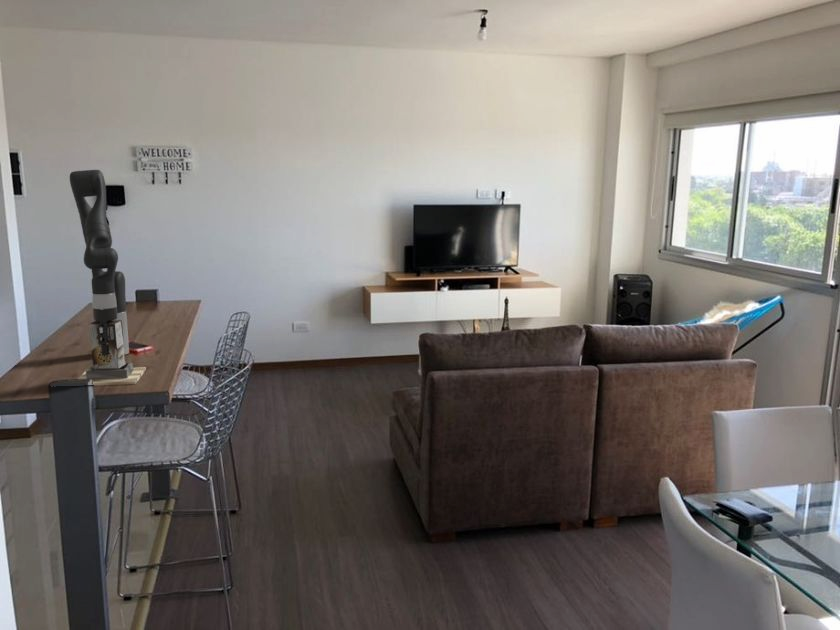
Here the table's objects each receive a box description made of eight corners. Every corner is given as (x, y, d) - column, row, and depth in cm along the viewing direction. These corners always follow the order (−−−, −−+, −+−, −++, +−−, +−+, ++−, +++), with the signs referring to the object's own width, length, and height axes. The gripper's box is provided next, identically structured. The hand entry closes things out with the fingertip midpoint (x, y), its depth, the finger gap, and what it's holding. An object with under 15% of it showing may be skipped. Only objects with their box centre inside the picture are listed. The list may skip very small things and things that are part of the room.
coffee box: (126, 364, 239) (123, 319, 235) (118, 369, 232) (115, 323, 229) (100, 364, 238) (96, 319, 235) (92, 368, 232) (88, 323, 229)
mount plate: (87, 372, 243) (86, 361, 242) (146, 369, 247) (145, 359, 246) (72, 386, 225) (71, 375, 225) (135, 384, 229) (134, 372, 229)
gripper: (98, 302, 237) (102, 348, 240) (87, 310, 223) (91, 358, 227) (121, 302, 239) (124, 347, 242) (111, 309, 225) (114, 357, 228)
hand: (108, 352), depth 234 cm, fingers closed on coffee box, 7 cm apart
